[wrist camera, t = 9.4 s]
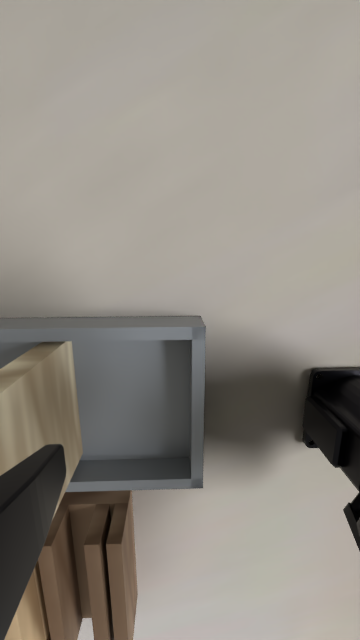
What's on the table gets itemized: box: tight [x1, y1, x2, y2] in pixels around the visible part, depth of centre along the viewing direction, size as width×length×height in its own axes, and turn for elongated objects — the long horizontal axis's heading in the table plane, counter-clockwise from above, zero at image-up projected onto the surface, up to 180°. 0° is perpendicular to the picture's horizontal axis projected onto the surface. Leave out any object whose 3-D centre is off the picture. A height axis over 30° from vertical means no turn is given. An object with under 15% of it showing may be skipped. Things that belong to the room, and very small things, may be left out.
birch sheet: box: [0, 341, 83, 520], centre depth 14 cm, size 2×9×10 cm, turn 0°
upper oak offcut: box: [4, 570, 45, 640], centre depth 18 cm, size 4×9×2 cm, turn 0°
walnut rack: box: [38, 490, 137, 640], centre depth 21 cm, size 12×12×4 cm
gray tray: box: [0, 316, 206, 492], centre depth 18 cm, size 19×12×3 cm, turn 90°
